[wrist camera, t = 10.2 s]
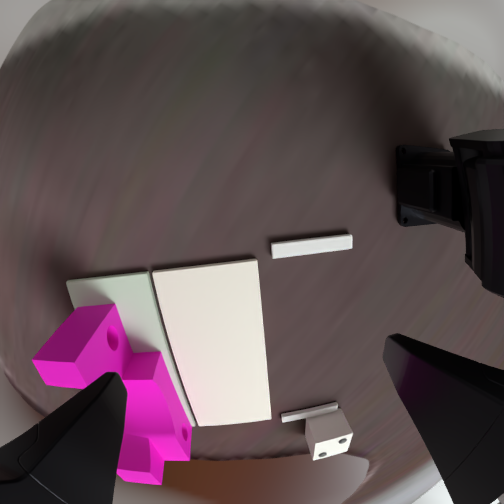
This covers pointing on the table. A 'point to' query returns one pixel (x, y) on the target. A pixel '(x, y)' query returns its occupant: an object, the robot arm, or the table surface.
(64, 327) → the toy block
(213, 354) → the game board
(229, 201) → the table surface
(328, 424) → the die
